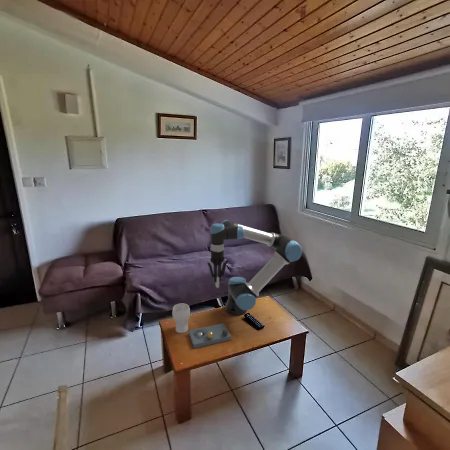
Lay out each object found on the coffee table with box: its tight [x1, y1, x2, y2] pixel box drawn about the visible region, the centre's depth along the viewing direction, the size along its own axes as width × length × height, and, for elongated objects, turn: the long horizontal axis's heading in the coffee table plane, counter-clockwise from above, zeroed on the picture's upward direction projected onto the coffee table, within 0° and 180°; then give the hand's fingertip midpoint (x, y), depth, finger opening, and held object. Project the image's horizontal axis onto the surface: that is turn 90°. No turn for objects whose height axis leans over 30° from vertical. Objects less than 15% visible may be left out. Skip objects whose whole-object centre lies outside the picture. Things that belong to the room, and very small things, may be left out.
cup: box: [171, 302, 191, 334], centre depth 168 cm, size 11×11×15 cm
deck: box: [188, 322, 232, 349], centre depth 163 cm, size 22×13×2 cm, turn 110°
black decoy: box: [222, 329, 229, 336], centre depth 161 cm, size 3×3×3 cm
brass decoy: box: [207, 331, 214, 339], centre depth 158 cm, size 4×4×4 cm
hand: (217, 286), depth 168 cm, fingers closed
